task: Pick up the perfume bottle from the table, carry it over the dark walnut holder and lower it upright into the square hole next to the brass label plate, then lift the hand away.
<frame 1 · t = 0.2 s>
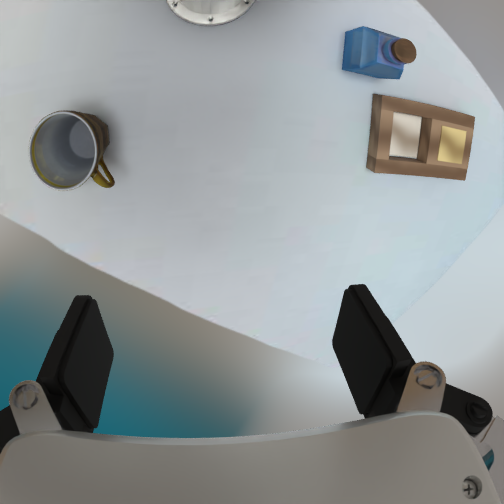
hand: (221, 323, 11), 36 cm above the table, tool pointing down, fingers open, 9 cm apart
ceramic cup: (97, 142, 40), on the table
walnut holder: (420, 137, 45), on the table
perfume bottle: (362, 55, 38), on the table
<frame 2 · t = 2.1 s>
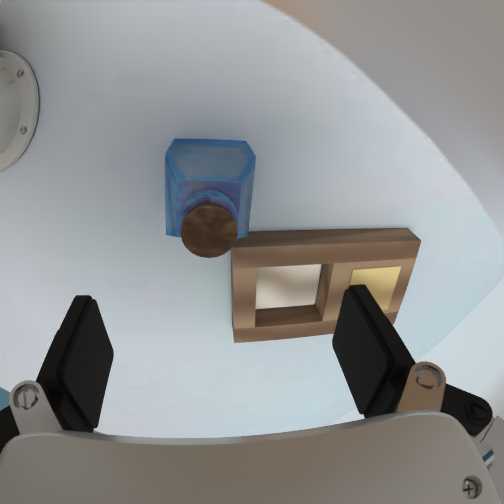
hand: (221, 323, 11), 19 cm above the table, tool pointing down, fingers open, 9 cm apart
walnut holder: (321, 278, 35), on the table
perfume bottle: (208, 172, 28), on the table
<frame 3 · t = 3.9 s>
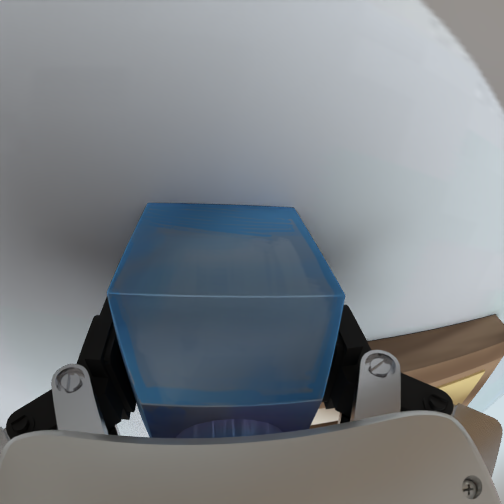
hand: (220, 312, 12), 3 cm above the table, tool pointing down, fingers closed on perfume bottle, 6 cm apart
walnut holder: (380, 388, 22), on the table
perfume bottle: (218, 265, 15), on the table, touching gripper
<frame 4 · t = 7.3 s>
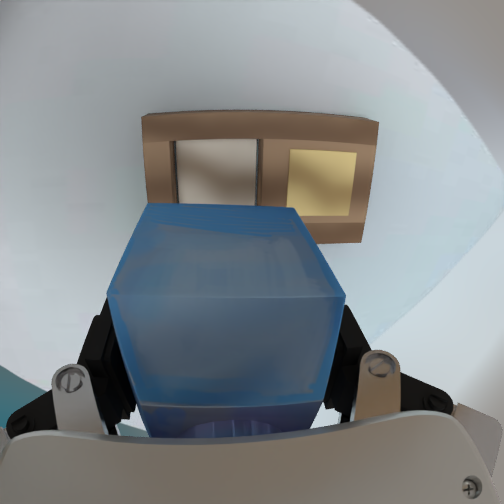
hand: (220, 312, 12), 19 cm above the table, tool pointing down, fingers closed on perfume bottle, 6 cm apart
walnut holder: (259, 173, 29), on the table
perfume bottle: (218, 265, 15), point 16 cm above the table, touching gripper
when the fingers open (4 cm above the table, at t = 10.5 s): perfume bottle stays where it is, resting on walnut holder.
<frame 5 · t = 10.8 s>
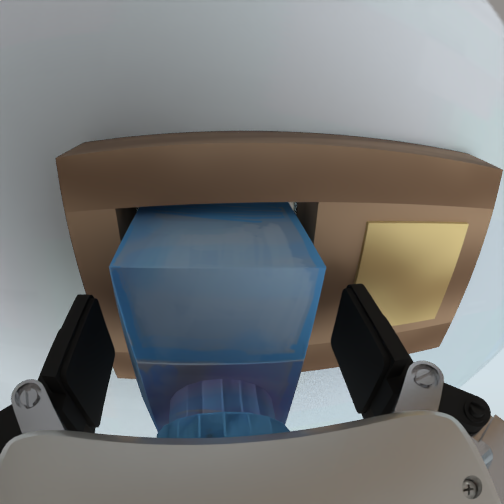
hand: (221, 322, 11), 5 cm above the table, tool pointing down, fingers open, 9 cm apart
walnut holder: (296, 250, 16), on the table
perfume bottle: (214, 251, 16), resting on walnut holder
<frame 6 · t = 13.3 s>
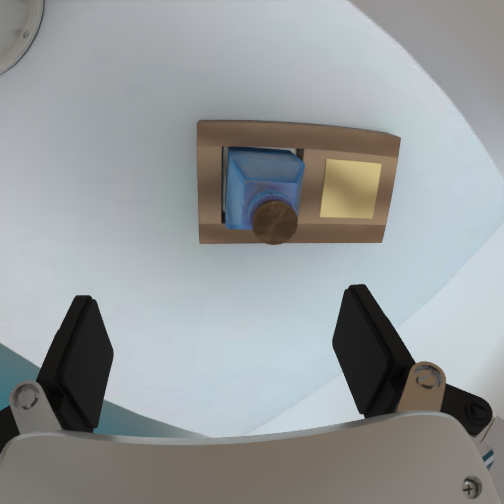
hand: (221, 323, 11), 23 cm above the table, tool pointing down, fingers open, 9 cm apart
walnut holder: (296, 179, 33), on the table
perfume bottle: (256, 176, 32), resting on walnut holder
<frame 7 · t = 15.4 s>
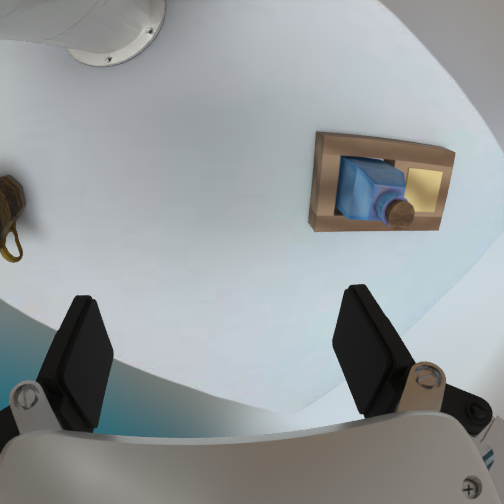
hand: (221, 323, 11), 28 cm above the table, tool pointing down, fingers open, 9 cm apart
ceramic cup: (15, 202, 35), on the table
walnut holder: (381, 181, 40), on the table
perfume bottle: (354, 178, 39), resting on walnut holder
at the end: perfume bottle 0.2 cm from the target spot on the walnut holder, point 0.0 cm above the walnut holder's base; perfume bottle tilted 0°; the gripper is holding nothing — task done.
